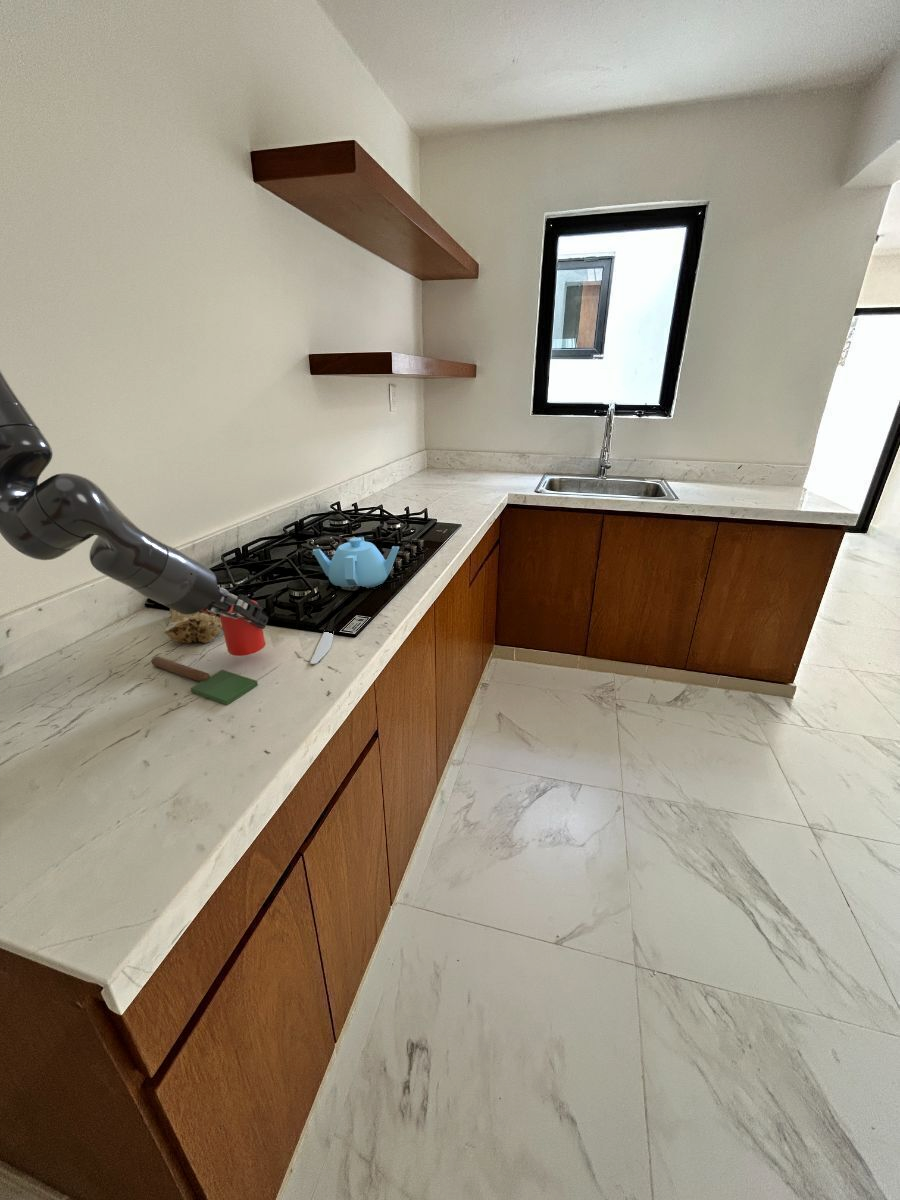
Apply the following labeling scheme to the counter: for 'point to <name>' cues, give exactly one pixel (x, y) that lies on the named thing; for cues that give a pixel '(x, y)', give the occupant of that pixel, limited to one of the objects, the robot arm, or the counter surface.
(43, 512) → the robot arm
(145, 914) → the counter surface
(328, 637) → the butter knife
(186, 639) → the sponge
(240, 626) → the pepper
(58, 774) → the counter surface
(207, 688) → the spatula
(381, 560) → the teapot
